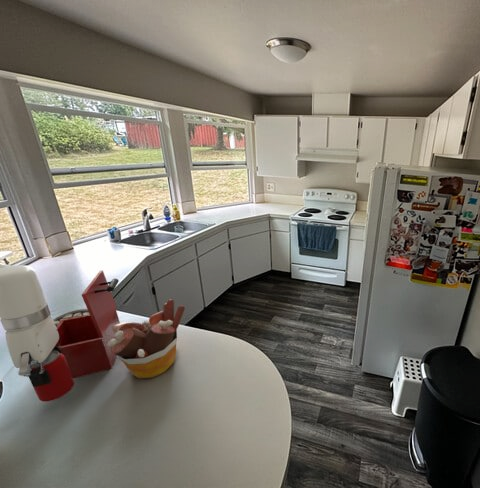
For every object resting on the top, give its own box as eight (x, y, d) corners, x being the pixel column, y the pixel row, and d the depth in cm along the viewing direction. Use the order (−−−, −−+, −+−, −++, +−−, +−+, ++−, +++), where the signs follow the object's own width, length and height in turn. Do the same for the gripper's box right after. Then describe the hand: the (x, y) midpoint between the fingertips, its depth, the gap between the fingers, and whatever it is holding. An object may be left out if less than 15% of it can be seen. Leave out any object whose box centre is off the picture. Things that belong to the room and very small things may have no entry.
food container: (100, 325, 99) (93, 304, 95) (102, 333, 95) (95, 311, 91) (56, 340, 91) (46, 317, 87) (56, 349, 87) (46, 326, 83)
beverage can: (71, 377, 72) (59, 344, 68) (78, 390, 69) (65, 356, 65) (37, 394, 67) (21, 359, 63) (42, 409, 64) (26, 373, 60)
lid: (81, 294, 70) (106, 289, 72) (99, 270, 84) (120, 267, 86) (99, 338, 76) (122, 332, 78) (114, 308, 90) (133, 304, 92)
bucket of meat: (138, 399, 71) (121, 343, 64) (107, 376, 77) (89, 322, 71) (200, 353, 87) (191, 304, 81) (170, 337, 94) (160, 291, 87)
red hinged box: (49, 384, 74) (35, 353, 70) (72, 347, 88) (61, 319, 84) (111, 368, 80) (101, 338, 76) (123, 336, 94) (116, 309, 90)
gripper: (25, 300, 65) (46, 354, 71) (-24, 344, 51) (9, 407, 57) (63, 295, 68) (81, 346, 75) (28, 335, 54) (54, 395, 60)
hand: (49, 372), depth 66 cm, fingers closed on beverage can, 6 cm apart
